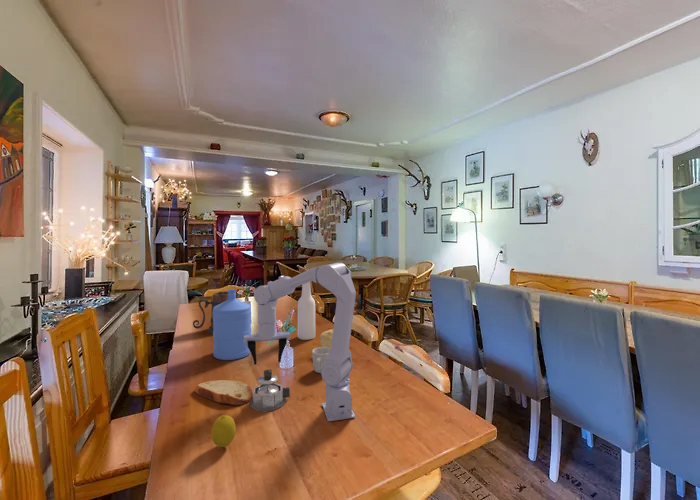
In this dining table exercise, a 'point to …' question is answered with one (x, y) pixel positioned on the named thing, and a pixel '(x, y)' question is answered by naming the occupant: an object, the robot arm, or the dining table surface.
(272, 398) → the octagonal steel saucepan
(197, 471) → the dining table surface
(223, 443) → the lemon
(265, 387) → the silver rounded piece
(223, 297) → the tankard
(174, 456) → the dining table surface
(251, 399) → the round metal disc
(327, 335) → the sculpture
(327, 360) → the robot arm
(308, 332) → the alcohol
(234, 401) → the slice of bread
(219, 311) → the water jug
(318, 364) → the cup
